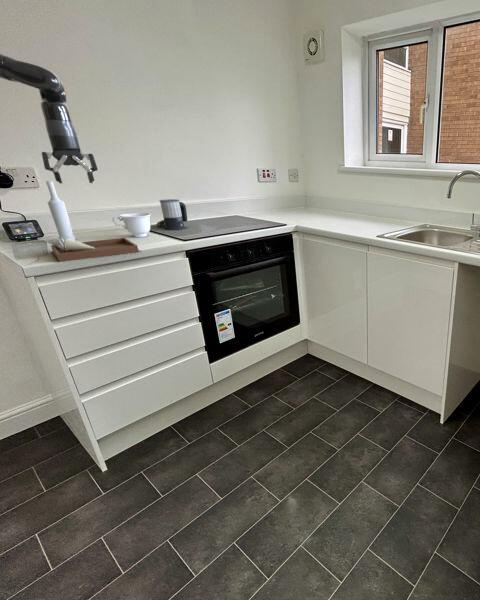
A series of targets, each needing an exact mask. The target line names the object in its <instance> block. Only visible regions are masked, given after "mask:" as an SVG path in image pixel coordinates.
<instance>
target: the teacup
mask: <svg viewBox="0 0 480 600" xmlns="http://www.w3.org/2000/svg"><path fill="white" fill-rule="evenodd" d="M151 216H152V214H151V213H147V212H135V213H134V212H133V213H123V214H120V215H119V216H117V215H115V216H113V217H112V223H113V224H114V225H115V226H117V227H121V228H124V229H125V230H126V231H127V232H128V233H130V234H132V237H133V238H143V237H147V236H148V233H149V232H150V231H151ZM117 219H118V220H119V222H123V223H124V224H119V223H118V222H116V220H117Z"/></svg>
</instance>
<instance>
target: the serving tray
mask: <svg viewBox="0 0 480 600" xmlns="http://www.w3.org/2000/svg"><path fill="white" fill-rule="evenodd" d="M80 242H81V243H83V244H86V245H89V246H91V247H94V249H85V250H69V251H67V250H61V249H59V248H58V247H57V246H54V245H52V244H50V247H51V250H52V252H53V254H54V256H55V257H56V259H57V260H58V262H69V261H77V260H83V259H84V260H85V259H93V258H100V257H101V258H102V257H107V256H108V257H110V256H116V255H124V254H133V253H139V252H140V251H139V248H138V245H137V244H136V243H134V242H132V241H131V240H130V239H128V238H126V237H118V238H110V239H109V238H108V239H99V240H98V239H97V240H90V241H80Z"/></svg>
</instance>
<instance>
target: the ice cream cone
mask: <svg viewBox="0 0 480 600" xmlns="http://www.w3.org/2000/svg"><path fill="white" fill-rule="evenodd" d="M45 242H46V243H48V244H50V245H54V246H57V247H58V248H59V249H61V250H67V251H69V250H85V249H94V247H91V246H89V245H86V244H83V243H81V242H82V241H79V240H76V239H75V240H73V239H71V238H68V239H66V238H63V239H62V238H60V239H56V238H55V239H54V238H53V239H52V240H51V239H50V240H46V241H45Z"/></svg>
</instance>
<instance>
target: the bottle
mask: <svg viewBox="0 0 480 600" xmlns="http://www.w3.org/2000/svg"><path fill="white" fill-rule="evenodd" d="M45 183H46V186H47V189H48V192H49V195H50V199H49V200H48V201H47V205H48V208H49V210H50V213H51V216H52V220H53V222H54V225H55V228H56V231H57V234H58V236H59V237H58V238H59V239H60V238H62V239H63V238H66V239H68V238H71V239H73V240H76V236H75V235H74V232H73V231H74V230H73V229H72V225H71V222H70V216H69V215H68V210H67V207H66V204H65V201H63V200H61V199H60V198H59V197H58V195H57V191H56V188H55V184H54V181H53V180H46V181H45Z"/></svg>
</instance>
